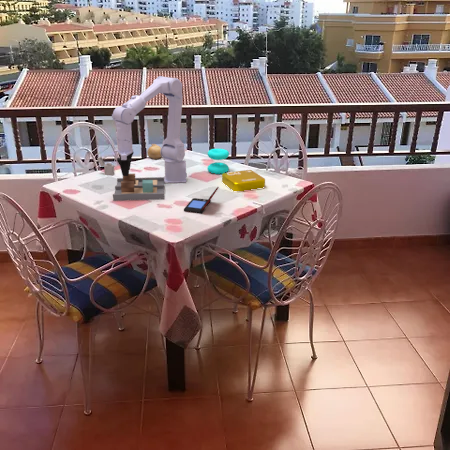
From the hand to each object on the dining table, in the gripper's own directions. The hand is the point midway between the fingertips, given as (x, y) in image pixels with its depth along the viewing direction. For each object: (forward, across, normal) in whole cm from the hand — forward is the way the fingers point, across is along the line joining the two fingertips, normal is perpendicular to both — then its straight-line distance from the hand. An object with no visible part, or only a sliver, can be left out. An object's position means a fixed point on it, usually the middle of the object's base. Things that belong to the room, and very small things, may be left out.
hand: (126, 172), depth 190 cm
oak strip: (+9, 0, +5) cm, 10 cm away
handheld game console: (+10, +14, +29) cm, 34 cm away
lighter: (+10, -28, -11) cm, 31 cm away
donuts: (+9, -29, +40) cm, 50 cm away
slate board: (+10, -5, +5) cm, 12 cm away
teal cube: (+8, 0, +8) cm, 11 cm away
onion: (+9, -52, +10) cm, 54 cm away
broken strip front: (+9, -9, +1) cm, 13 cm away
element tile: (+10, -10, +49) cm, 51 cm away
